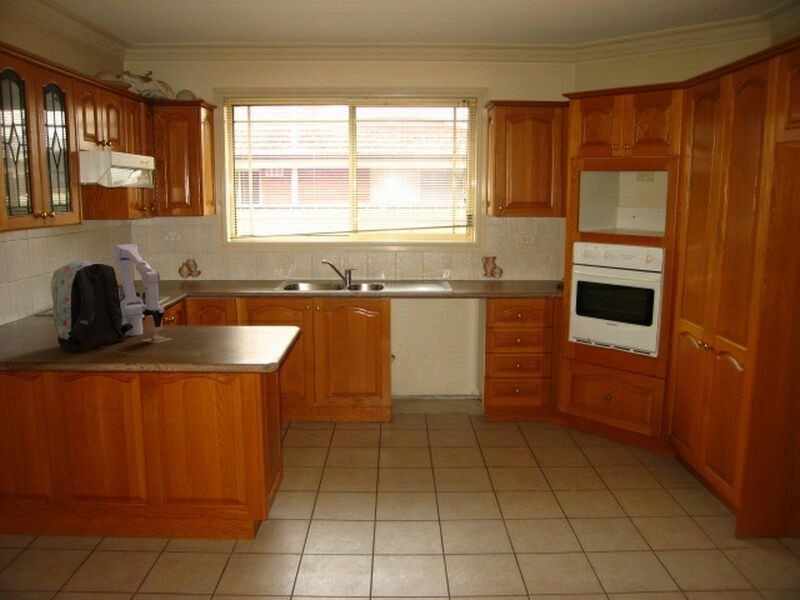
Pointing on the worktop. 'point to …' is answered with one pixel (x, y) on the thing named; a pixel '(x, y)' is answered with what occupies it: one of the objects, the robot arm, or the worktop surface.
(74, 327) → the backpack
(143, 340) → the board
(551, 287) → the worktop surface
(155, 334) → the post
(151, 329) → the pink rectangular block
